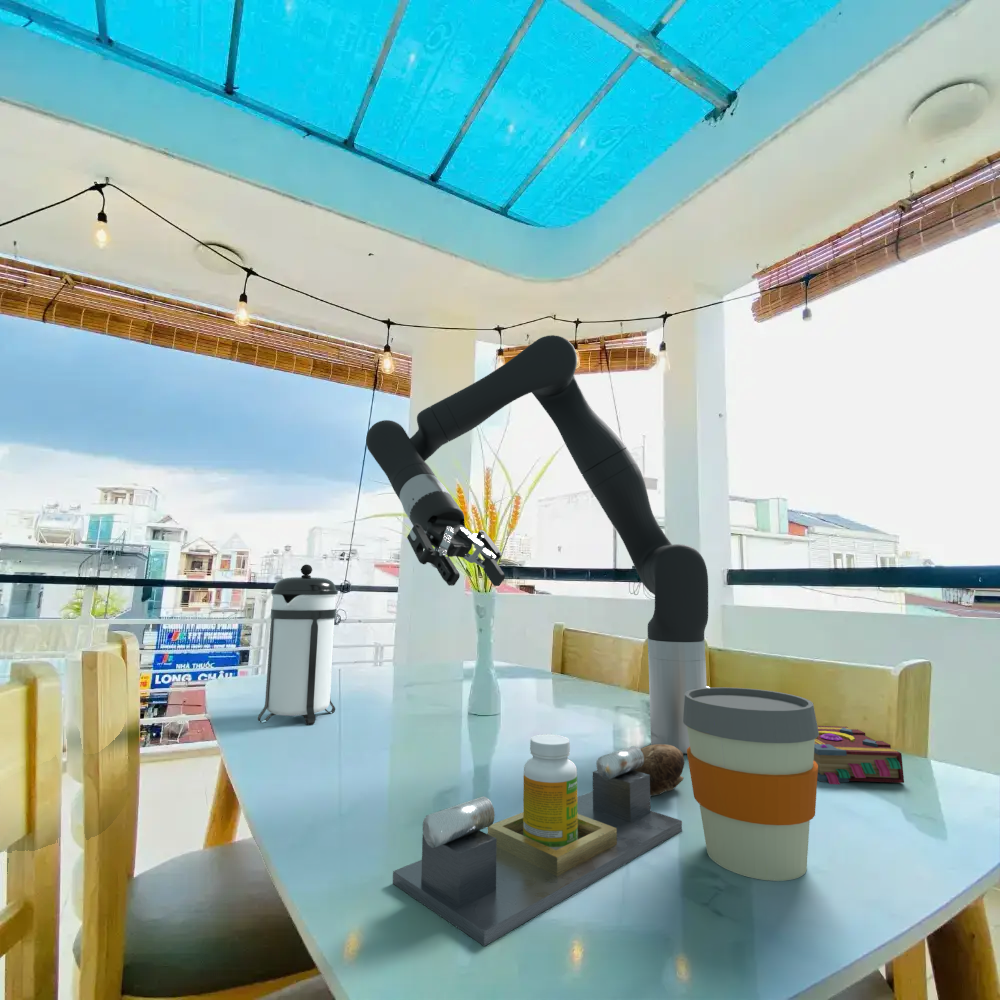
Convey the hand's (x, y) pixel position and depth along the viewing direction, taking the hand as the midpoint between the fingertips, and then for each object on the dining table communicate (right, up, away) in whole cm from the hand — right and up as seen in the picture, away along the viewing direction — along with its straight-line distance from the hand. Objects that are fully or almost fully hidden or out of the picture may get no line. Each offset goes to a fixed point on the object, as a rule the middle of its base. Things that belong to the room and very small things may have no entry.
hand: (478, 581), depth 79 cm
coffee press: (-37, -32, +33) cm, 59 cm away
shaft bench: (+8, -23, -24) cm, 34 cm away
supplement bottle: (+8, -23, -23) cm, 34 cm away
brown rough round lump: (+23, -26, -6) cm, 36 cm away
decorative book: (+53, -29, +4) cm, 60 cm away
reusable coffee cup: (+28, -24, -24) cm, 44 cm away
